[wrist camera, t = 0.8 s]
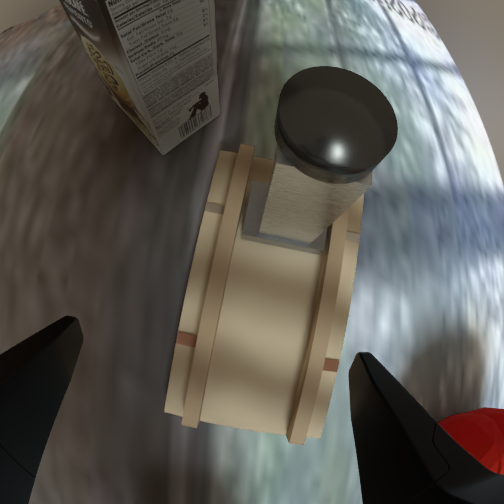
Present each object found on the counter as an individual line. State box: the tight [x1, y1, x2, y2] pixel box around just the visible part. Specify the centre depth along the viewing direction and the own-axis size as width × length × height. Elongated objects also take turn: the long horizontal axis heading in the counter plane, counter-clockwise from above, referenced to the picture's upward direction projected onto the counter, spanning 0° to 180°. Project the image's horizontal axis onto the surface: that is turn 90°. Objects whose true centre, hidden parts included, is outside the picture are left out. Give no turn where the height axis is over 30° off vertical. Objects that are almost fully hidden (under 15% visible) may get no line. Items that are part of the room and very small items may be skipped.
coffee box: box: [60, 0, 221, 155], centre depth 17 cm, size 9×6×16 cm
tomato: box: [438, 407, 504, 475], centre depth 15 cm, size 11×13×10 cm
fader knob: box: [242, 66, 398, 255], centre depth 15 cm, size 4×5×13 cm
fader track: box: [164, 144, 364, 445], centre depth 21 cm, size 19×11×3 cm, turn 169°
